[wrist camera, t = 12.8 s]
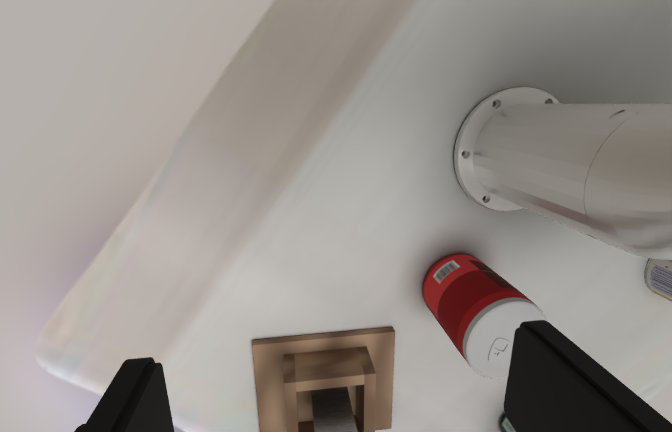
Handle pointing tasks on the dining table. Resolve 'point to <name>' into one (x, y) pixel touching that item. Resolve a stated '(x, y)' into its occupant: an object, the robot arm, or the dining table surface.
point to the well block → (324, 377)
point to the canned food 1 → (477, 311)
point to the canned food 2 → (659, 277)
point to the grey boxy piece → (332, 410)
